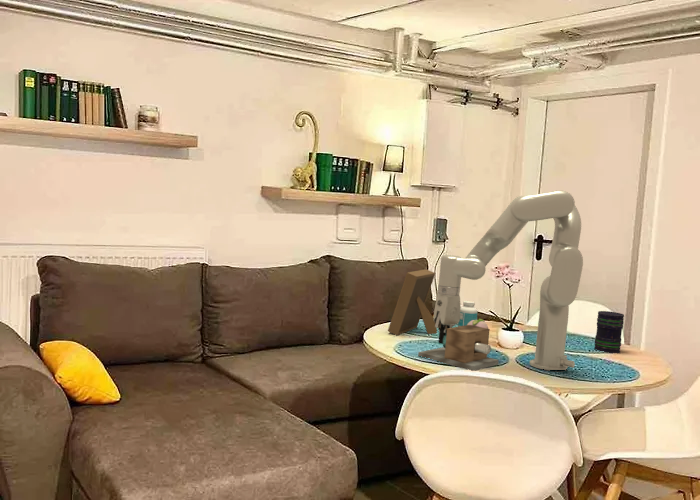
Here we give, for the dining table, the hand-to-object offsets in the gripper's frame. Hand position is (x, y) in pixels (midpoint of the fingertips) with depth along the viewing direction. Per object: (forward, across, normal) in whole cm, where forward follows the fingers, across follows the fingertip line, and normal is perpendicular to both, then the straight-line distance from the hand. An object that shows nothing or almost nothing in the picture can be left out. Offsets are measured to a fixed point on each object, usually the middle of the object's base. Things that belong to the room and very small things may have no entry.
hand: (443, 343), depth 243 cm
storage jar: (+4, +71, -30) cm, 77 cm away
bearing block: (+4, 0, -5) cm, 7 cm away
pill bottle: (+5, +44, +18) cm, 48 cm away
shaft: (+1, 0, -10) cm, 10 cm away
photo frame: (+5, +26, +31) cm, 40 cm away
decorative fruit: (+5, +33, +7) cm, 34 cm away
